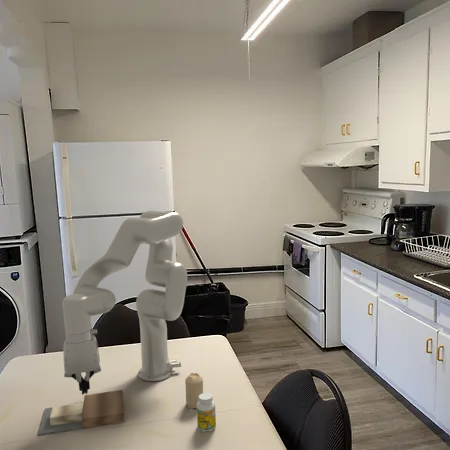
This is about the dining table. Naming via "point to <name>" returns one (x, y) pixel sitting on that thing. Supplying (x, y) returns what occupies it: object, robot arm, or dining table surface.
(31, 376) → the dining table surface
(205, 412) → the supplement bottle
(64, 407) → the tile
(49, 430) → the mat
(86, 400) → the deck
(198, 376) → the candle
